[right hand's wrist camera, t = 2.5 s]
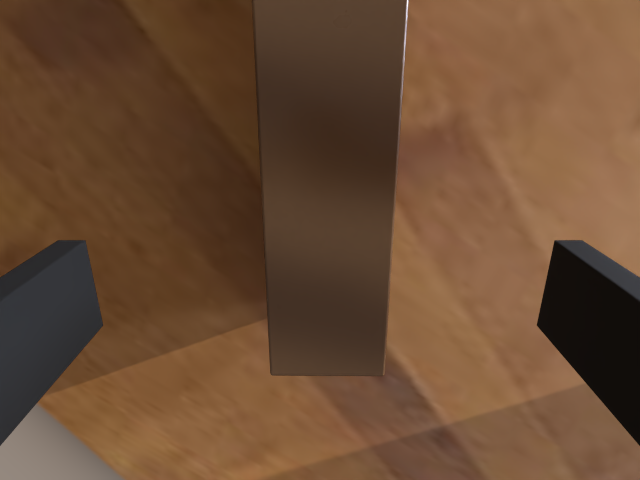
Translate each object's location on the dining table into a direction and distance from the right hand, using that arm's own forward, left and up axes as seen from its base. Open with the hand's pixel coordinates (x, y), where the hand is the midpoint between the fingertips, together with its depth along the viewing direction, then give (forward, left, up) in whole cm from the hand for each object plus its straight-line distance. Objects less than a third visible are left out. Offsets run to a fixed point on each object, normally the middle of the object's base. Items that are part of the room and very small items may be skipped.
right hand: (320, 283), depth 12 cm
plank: (-8, -24, -11) cm, 28 cm away
